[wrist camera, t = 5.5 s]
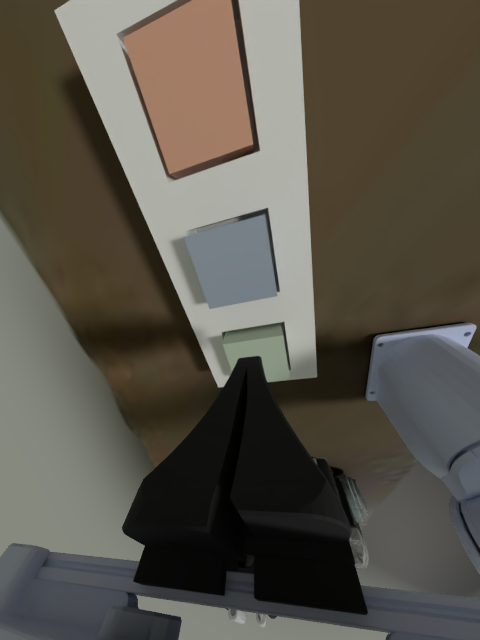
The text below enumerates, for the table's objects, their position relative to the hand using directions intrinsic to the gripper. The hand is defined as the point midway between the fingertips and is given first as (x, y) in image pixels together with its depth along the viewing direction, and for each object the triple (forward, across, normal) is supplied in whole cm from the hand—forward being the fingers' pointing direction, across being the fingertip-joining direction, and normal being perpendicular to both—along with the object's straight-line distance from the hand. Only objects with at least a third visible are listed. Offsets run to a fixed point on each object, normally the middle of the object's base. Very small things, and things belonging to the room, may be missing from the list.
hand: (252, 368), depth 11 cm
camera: (+8, -8, +35) cm, 37 cm away
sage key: (+5, 0, +3) cm, 6 cm away
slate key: (+5, 0, -6) cm, 8 cm away
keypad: (+7, 0, -6) cm, 9 cm away
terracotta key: (+6, 0, -14) cm, 15 cm away
